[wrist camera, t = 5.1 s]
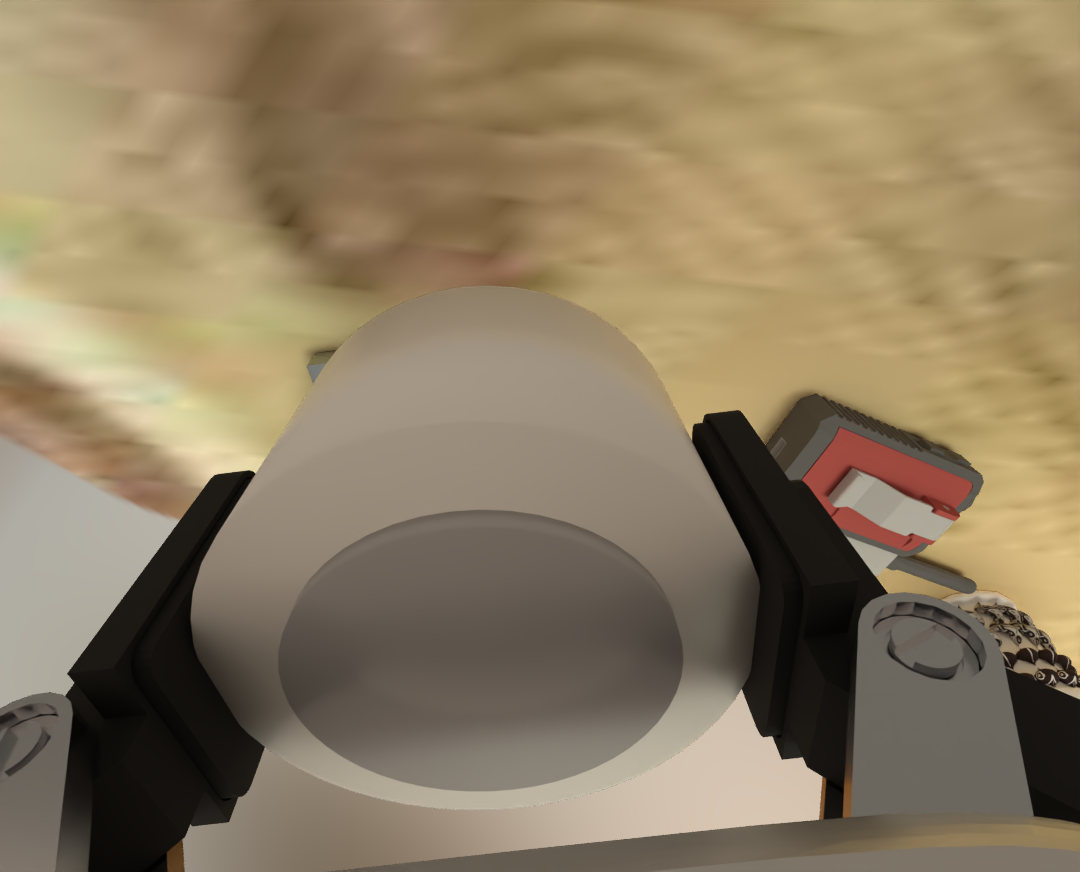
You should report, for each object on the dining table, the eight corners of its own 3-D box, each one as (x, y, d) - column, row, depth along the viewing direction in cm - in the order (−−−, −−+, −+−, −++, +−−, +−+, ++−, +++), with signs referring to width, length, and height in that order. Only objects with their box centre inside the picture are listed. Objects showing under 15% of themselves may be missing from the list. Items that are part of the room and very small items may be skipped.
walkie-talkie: (702, 497, 36) (947, 584, 41) (725, 546, 32) (992, 635, 37) (788, 376, 32) (1048, 488, 37) (826, 415, 28) (1110, 534, 33)
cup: (643, 221, 12) (806, 394, 6) (648, 499, 16) (750, 803, 9) (297, 265, 12) (51, 485, 6) (383, 531, 16) (295, 852, 9)
